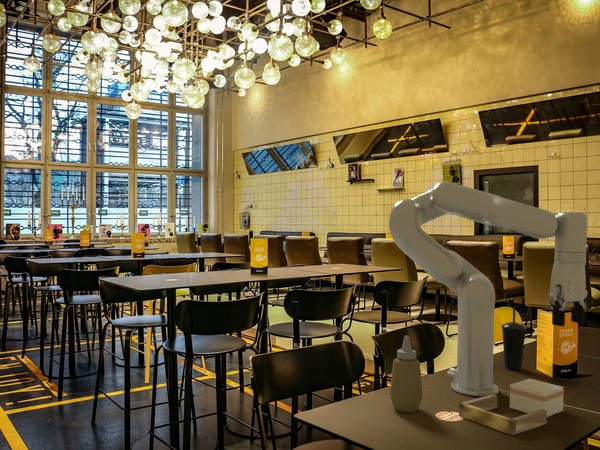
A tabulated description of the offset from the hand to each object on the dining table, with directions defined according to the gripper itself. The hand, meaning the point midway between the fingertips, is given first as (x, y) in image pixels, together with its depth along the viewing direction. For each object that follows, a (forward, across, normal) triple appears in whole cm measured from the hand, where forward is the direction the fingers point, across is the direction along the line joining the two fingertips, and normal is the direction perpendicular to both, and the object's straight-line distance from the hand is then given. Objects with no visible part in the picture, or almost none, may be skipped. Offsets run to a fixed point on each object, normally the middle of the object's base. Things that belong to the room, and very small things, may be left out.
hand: (567, 323), depth 146 cm
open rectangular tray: (+20, +27, 0) cm, 34 cm away
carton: (+20, +14, 0) cm, 25 cm away
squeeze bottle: (+21, +42, -17) cm, 50 cm away
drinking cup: (+20, -16, -26) cm, 37 cm away
